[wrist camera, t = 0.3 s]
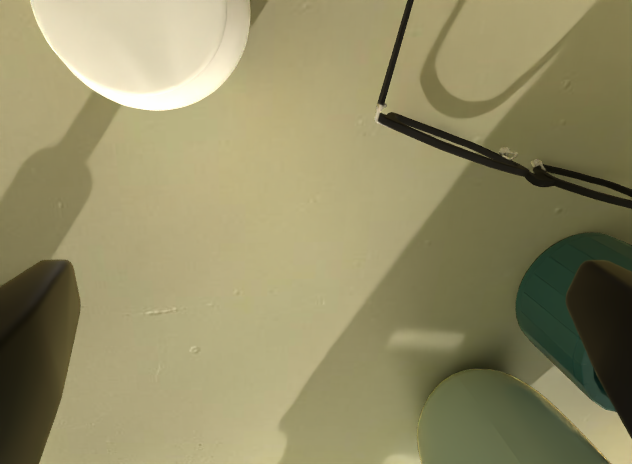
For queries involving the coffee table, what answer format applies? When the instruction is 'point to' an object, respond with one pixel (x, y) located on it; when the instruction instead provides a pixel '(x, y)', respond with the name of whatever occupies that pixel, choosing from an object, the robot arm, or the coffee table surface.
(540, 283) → the jar
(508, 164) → the eyeglasses
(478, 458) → the cup
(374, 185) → the coffee table surface
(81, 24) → the supplement bottle
